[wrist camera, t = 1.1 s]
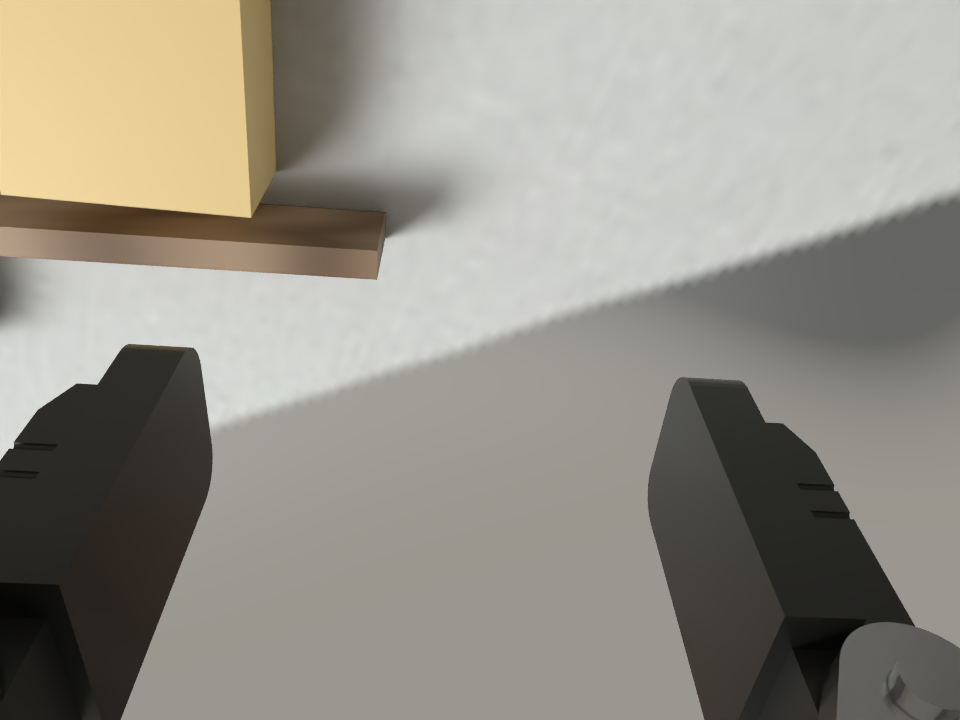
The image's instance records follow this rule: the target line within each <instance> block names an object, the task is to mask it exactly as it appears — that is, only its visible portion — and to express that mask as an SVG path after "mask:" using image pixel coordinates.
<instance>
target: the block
mask: <svg viewBox="0 0 960 720" xmlns="http://www.w3.org/2000/svg"><path fill="white" fill-rule="evenodd" d="M275 174H276V147H275V117H274V88H273V58H272V28H271V0H0V192H1V195H9V196H20V197H31V198H42V199H53V200H63V201H74V202H85V203H96V204H107V205H117V206H128V207H139V208H150V209H161V210H172V211H182V212H193V213H204V214H215V215H226V216H236V217H247V218H251V217H252V215H253V214H254V212H255V210H256V208H257V206H258V205H259V203H260V201H261V199H262V197H263V196H264V194H265V192H266V190H267V188H268V186H269V185H270V183H271V181H272V179H273V177H274V176H275Z"/></svg>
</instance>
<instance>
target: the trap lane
mask: <svg viewBox="0 0 960 720" xmlns="http://www.w3.org/2000/svg"><path fill="white" fill-rule="evenodd" d="M384 241H385V212H371V211H356V210H341V209H326V208H311V207H297V206H282V205H267V204H259V205H258V206H257V208H256V210H255V212H254V214H253V215H252V217H251V218H247V217H236V216H226V215H215V214H204V213H193V212H182V211H172V210H161V209H150V208H139V207H128V206H117V205H107V204H96V203H85V202H74V201H63V200H53V199H42V198H31V197H20V196H9V195H1V192H0V256H6V257H22V258H39V259H55V260H71V261H87V262H103V263H119V264H135V265H151V266H167V267H183V268H199V269H215V270H231V271H247V272H263V273H279V274H295V275H312V276H328V277H344V278H360V279H376V280H377V277H378V272H379V267H380V261H381V256H382V251H383V246H384Z"/></svg>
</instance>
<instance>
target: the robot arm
mask: <svg viewBox="0 0 960 720" xmlns="http://www.w3.org/2000/svg"><path fill="white" fill-rule="evenodd" d="M211 474H212V444H211V436H210V429H209V421H208V414H207V407H206V400H205V392H204V385H203V378H202V370H201V364H200V359H199V356H198V354H197V352H196V350H195V349H194V348H187V347H170V346H153V345H136V344H128V345H126V346H124V347H123V348H122V349H121V351H120V352H119V354H118V355H117V357H116V358H115V360H114V361H113V362H112V364H111V365H110V367H109V368H108V370H107V371H106V373H105V374H104V376H103V377H102V379H101V380H100V382H99V383H98V385H92V384H75V385H74V386H73V387H71V388H70V389H68V390H67V391H65V392H64V393H62V394H61V395H59V396H58V397H56V398H55V399H53V400H52V401H50V402H49V403H47V404H46V405H45V406H43V407H42V408H40V409H39V410H38V411H37V412H36V413H35V415H34V416H33V417H32V419H31V420H30V421H29V423H28V424H27V425H26V427H25V428H24V429H23V431H22V432H21V433H20V435H19V436H18V437H17V439H16V440H15V442H14V448H13V449H9V450H8V451H7V452H6V454H5V455H4V456H3V458H2V459H1V460H0V720H121V717H122V714H123V712H124V709H125V707H126V704H127V701H128V699H129V696H130V694H131V691H132V689H133V686H134V683H135V681H136V678H137V676H138V673H139V671H140V668H141V666H142V663H143V660H144V658H145V655H146V653H147V650H148V647H149V645H150V642H151V640H152V637H153V635H154V632H155V630H156V627H157V624H158V622H159V619H160V617H161V614H162V611H163V609H164V606H165V604H166V601H167V599H168V596H169V593H170V591H171V588H172V586H173V583H174V581H175V578H176V575H177V573H178V570H179V568H180V565H181V562H182V560H183V557H184V555H185V552H186V550H187V547H188V544H189V542H190V539H191V537H192V534H193V531H194V529H195V527H196V524H197V521H198V519H199V516H200V514H201V511H202V509H203V506H204V503H205V501H206V498H207V494H208V491H209V486H210V481H211ZM648 509H649V517H650V522H651V526H652V529H653V533H654V536H655V540H656V543H657V547H658V551H659V555H660V558H661V562H662V566H663V569H664V573H665V577H666V580H667V584H668V588H669V591H670V595H671V599H672V602H673V606H674V610H675V613H676V617H677V621H678V624H679V628H680V632H681V635H682V639H683V643H684V646H685V650H686V653H687V657H688V661H689V664H690V668H691V672H692V675H693V679H694V682H695V686H696V690H697V694H698V697H699V701H700V704H701V708H702V712H703V716H704V719H705V720H960V648H959V647H957V646H956V645H954V644H953V643H951V642H949V641H947V640H945V639H944V638H942V637H940V636H938V635H936V634H933V633H931V632H929V631H926V630H924V629H921V628H917V627H915V625H914V624H913V622H912V620H911V618H910V617H909V615H908V613H907V611H906V610H905V608H904V606H903V604H902V603H901V601H900V599H899V598H898V596H897V594H896V592H895V590H894V589H893V587H892V585H891V584H890V582H889V580H888V578H887V576H886V575H885V573H884V571H883V569H882V568H881V566H880V564H879V562H878V561H877V559H876V558H875V555H874V554H873V552H872V550H871V549H870V547H869V545H868V543H867V541H866V540H865V538H864V536H863V535H862V533H861V531H860V529H859V527H858V526H857V524H856V522H855V520H854V519H852V520H851V519H850V518H849V513H850V512H849V510H848V508H847V507H846V505H845V503H844V501H843V500H842V498H841V496H840V494H839V493H838V492H837V491H834V484H833V482H832V480H831V479H830V477H829V475H828V473H827V472H826V470H825V468H824V466H823V465H822V463H821V461H820V459H819V458H818V456H817V454H816V452H814V451H813V450H812V449H811V448H810V447H809V446H808V445H806V444H805V443H804V442H803V441H802V440H801V439H800V438H799V437H797V436H796V435H795V434H794V433H793V432H792V431H790V430H789V429H788V428H787V427H786V426H785V425H784V424H780V423H765V421H764V419H763V417H762V415H761V413H760V411H759V409H758V407H757V405H756V403H755V402H754V400H753V398H752V396H751V394H750V392H749V390H748V388H747V387H746V385H745V384H744V383H743V382H742V381H737V380H720V379H702V378H685V377H683V378H682V377H681V378H679V379H678V380H677V381H676V383H675V384H674V386H673V389H672V392H671V395H670V399H669V402H668V406H667V410H666V414H665V418H664V421H663V425H662V429H661V433H660V437H659V441H658V444H657V448H656V452H655V455H654V459H653V463H652V466H651V471H650V475H649V483H648Z"/></svg>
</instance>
